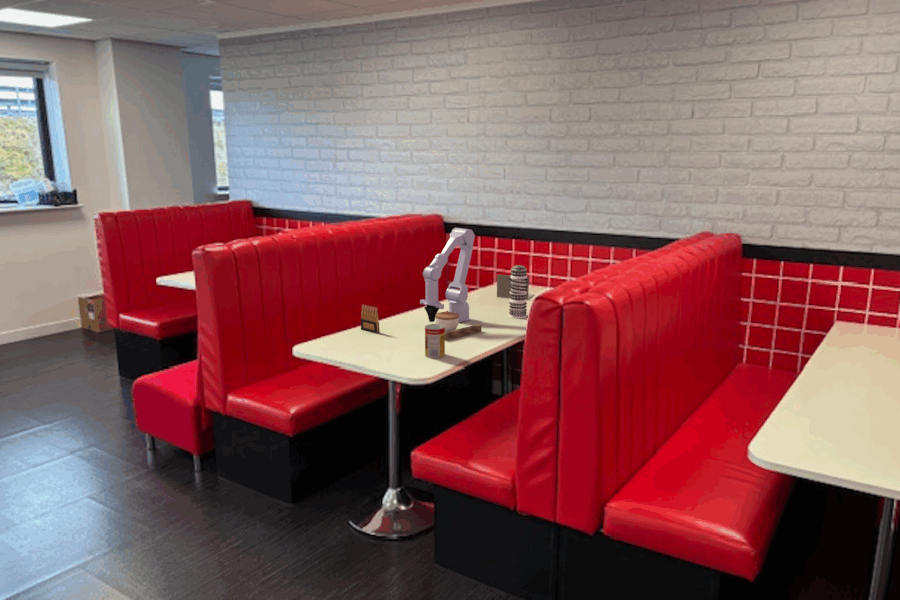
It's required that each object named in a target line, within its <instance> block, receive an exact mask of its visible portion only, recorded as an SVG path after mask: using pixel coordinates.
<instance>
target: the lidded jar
mask: <svg viewBox="0 0 900 600" xmlns="http://www.w3.org/2000/svg"><path fill="white" fill-rule="evenodd" d="M459 323H460V322H459V314H458V313H455V312H449V310H446V311H441V312H437V314H436V315H435V324H441V325H444V326H445V332H448V331H452V330H456V329H458V326H459Z"/></svg>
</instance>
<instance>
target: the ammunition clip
mask: <svg viewBox="0 0 900 600" xmlns="http://www.w3.org/2000/svg"><path fill="white" fill-rule="evenodd" d="M378 312H379V311H378V307H377V306H372V305H367V304H365V305H364V303H362V305H361V319H360V330H362V331H365V332H368V333H372V334H381V333H380V321H379V313H378Z"/></svg>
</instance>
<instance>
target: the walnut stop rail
mask: <svg viewBox="0 0 900 600" xmlns="http://www.w3.org/2000/svg"><path fill="white" fill-rule="evenodd" d="M482 327H483V326H482V324H479V323H478V324H474V325H469V326H465V327H461V328H456V329H455V330H452V331H448V332H445V340H446V341H448V340H449V339H450V340H453V338H454V339H457V338H460V337H464V336H468V335H472V334H478V333H482Z"/></svg>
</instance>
